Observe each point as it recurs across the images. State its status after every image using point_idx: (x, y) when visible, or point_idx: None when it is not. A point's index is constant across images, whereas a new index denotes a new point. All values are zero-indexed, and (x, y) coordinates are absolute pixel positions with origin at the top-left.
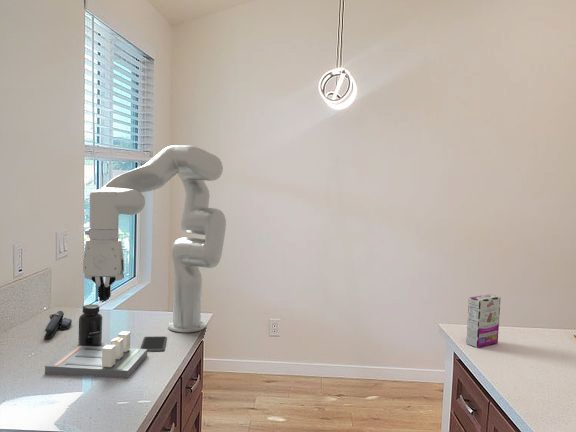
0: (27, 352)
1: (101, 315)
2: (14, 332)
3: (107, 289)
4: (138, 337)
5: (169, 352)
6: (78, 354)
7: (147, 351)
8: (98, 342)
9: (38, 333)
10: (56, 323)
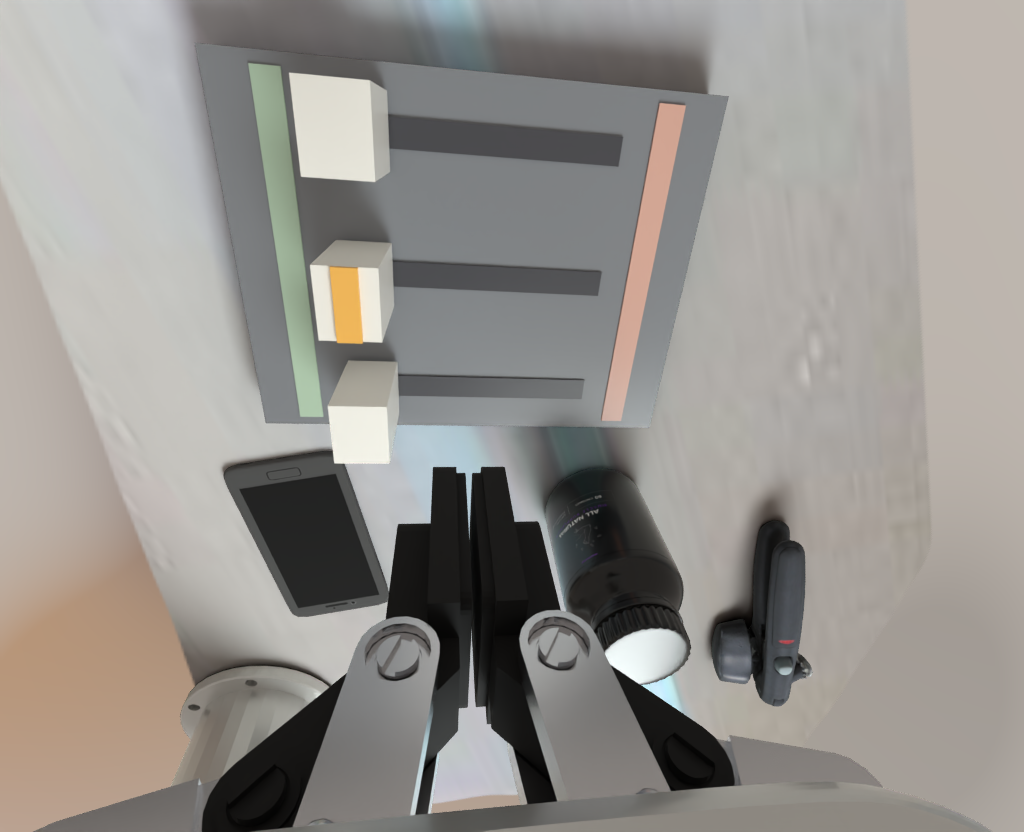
0: (830, 381)
1: None
2: (898, 567)
3: (404, 600)
4: None
5: (189, 461)
6: (591, 307)
7: (299, 455)
8: (552, 499)
9: (813, 572)
10: (771, 609)
